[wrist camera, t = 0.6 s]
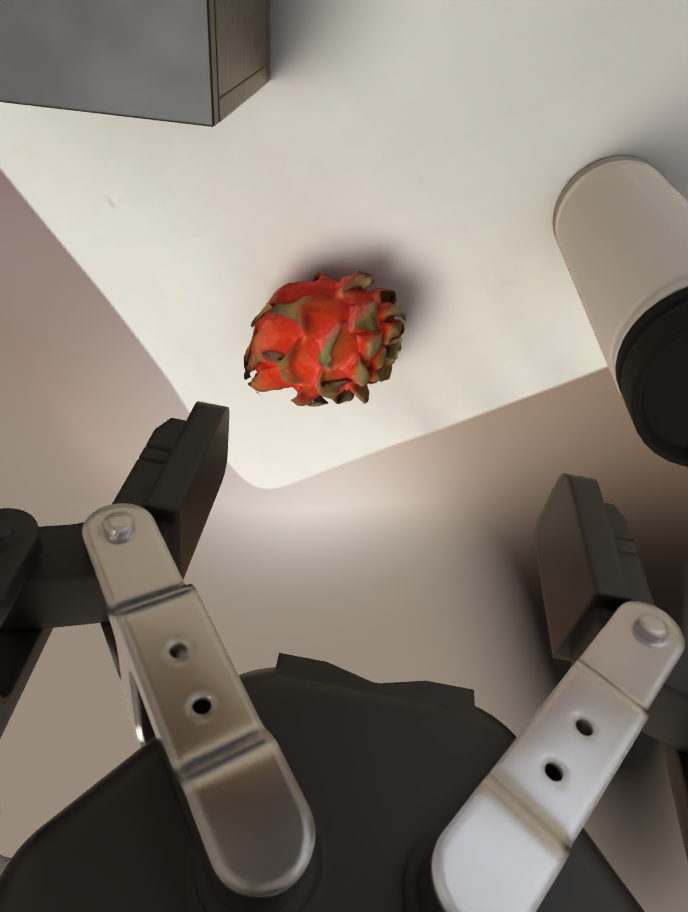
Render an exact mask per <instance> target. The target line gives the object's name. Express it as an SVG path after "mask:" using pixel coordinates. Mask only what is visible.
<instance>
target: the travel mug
mask: <svg viewBox="0 0 688 912" xmlns="http://www.w3.org/2000/svg"><path fill="white" fill-rule="evenodd" d="M553 229H554V235H555V238H556V240H557V243H558V246H559V248H560V250H561V253H562V255H563V258H564V260H565V263H566V265H567V267H568V270H569V272H570V275H571V277H572V280H573V282H574V284H575V287H576V289H577V292H578V294H579V297H580V299H581V301H582V304H583V306H584V309H585V311H586V314H587V316H588V319H589V321H590V323H591V326H592V328H593V331H594V333H595V336H596V338H597V340H598V343H599V345H600V348H601V350H602V353H603V355H604V357H605V360H606V362H607V365H608V367H609V370H610V372H611V374H612V377H613V379H614V381H615V384H616V387H617V389H618V391H619V393H620V394H621V396H622V397H623V399H624V401H625V404H626V407H627V409H628V412H629V414H630V416H631V419H632V421H633V424H634V426H635V428H636V431H637V433H638V434H639V436H640V437H641V439H642V440H643V442H644V443H645V444H646V445H647V446H648V447H649V448H650V449H651V450H652V451H653V452H654V453H656V454H657V455H659V456H661V457H662V458H664V459H666V460H668V461H670V462H673V463H676V464H679V465H683V466H687V467H688V201H687V200H686V199H685V198H684V197H683V196H682V195H681V194H680V193H679V192H678V191H677V190H676V189H675V188H674V187H673V186H672V185H671V184H670V183H669V182H668V181H667V180H666V179H665V178H664V177H663V176H662V175H661V174H660V173H659V172H658V171H657V170H656V169H655V168H654V167H653V166H652V165H650V164H649V163H648V162H646V161H644V160H642V159H639V158H636V157H631V156H612V157H608V158H605V159H601V160H598V161H596V162H594V163H592V164H590V165H588V166H587V167H585V168H584V169H582V170H581V171H580V172H578V173H577V174H576V175H575V176H574V177H573V178H572V179H571V180H570V181H569V182H568V184H567V185H566V186H565V188H564V189H563V191H562V192H561V194H560V196H559V198H558V200H557V203H556V206H555V210H554V215H553Z"/></svg>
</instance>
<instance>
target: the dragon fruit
mask: <svg viewBox="0 0 688 912" xmlns="http://www.w3.org/2000/svg"><path fill="white" fill-rule="evenodd" d="M373 283H374V279H373V276H372V275H371V274H367V273H362V272H361V271H358V272H356V273H353V274H351V275H350V276H346V277H343V278H342V279H341V282H338V281H336V280H333V279H330V278H328V277H326V275H325V274H322V273H321V272H318V273H316V274H315V275H314V279H313V281H312V282H294V283H288V284H286V285H284V286H283V287H281V288H280V289H278V290H277V291H276V292H275V293H274V295H273V297H272V298H271V299H270V300H269V302H268V303H267V304H266V306H265V307H264V308H263V309H262V311H261V312H260V313H259V315H257V316H256V317H255V319H254V320H253V321H252V324H251V326H252V327H253V326H255V328H254V332H253V336H252V340H251V342H250V345H249V347H248V348H247V350H246V353H245V356H244V368H245V373H244V379H245V380H247V379H248V378H250V377H251V376H250V372H252V371H254V370H255V369H256V371H257V373H256V374H255V377H254V378H253V379H252V381H251V382H249V383H248V385H249V386H251V387H252V388H253V389H254V390H256V391H259V392H266V391H270V390H280V389H283V388H289V387H293V388H294V389H295V390H296V391H297V392H298V394H297V396H296V397H295V398H294V399H292V400H291V401H292V402H294V403H295V404H296V405H297V406H305V405H308V406H321V405H324V404H328V402H327V401H326V400H325V399H324V398H323V397H322V396H324V397H326V398H330V399H332V400H333V401H335V403H337V404H340V403H343V402H346V401H351V400H352V399H353V398H354V394H355V395H356V396H357V397H358V398H359V399H360V400H361V401H362V402H363V403H364V404H365V403H367V402H368V400H369V390H368V387H367V384H373V383H376V382H378V381H381V382H382V381H384V380H388V379H389V378H390V375H391V371H392V364H393V363H394V362H395V360H396V358H397V359H398V357H397V356H398V352H399V351H400V350H401V342H402V338H401V335H402V334H403V332H404V324H403V322H402V321H401V320H397V319H394V317H395V316H400V317H402V318H403V319H404V320H405V321H406V319H405V316H406V315H405V314H404V313H403V312H402V311H401V309H400V308H399V307H398V306H396V293H395V292H394V291H392V290H388V289H383V288H378V289H374V290H372V291H370V292H368V291H367V290H366V288H367V287H368V286H370V285H371V284H373ZM404 315H405V316H404ZM346 389H347V391H346ZM254 392H255V391H254ZM256 393H258V392H256ZM321 395H322V396H321ZM259 396H260V395H259ZM260 397H261V396H260ZM312 401H314V402H312Z"/></svg>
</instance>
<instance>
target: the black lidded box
mask: <svg viewBox="0 0 688 912" xmlns="http://www.w3.org/2000/svg"><path fill="white" fill-rule="evenodd" d="M214 17H215V42H216V66H217V91H218V116H219V122H220V121H222V120H223V119H224V118H225V117H227V116H228V115H229V114H230V113H231V112H233V111H234V110H235V109H236V108H237V107H239V106H240V105H241V104H242V103H244V102H245V101H246V100H247V99H248V98H250V97H251V96H252V95H253V94H255V93H256V92H257V91H258V90H259V89H261V88H262V87H263V86H264V85H265V84H266V83H268V82H269V80H270V0H214Z"/></svg>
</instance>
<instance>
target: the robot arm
mask: <svg viewBox="0 0 688 912" xmlns="http://www.w3.org/2000/svg"><path fill="white" fill-rule="evenodd" d="M228 433H229V408H228V407H225V406H220V405H215V404H210V403H204V402H199V401H197V402H196V403H195V405H194V407H193V409H192V411H191V413H190V415H189V417H188V419H187V421H185V420H180V419H175V418H170V419H169V420H167V421H166V422H165V423H163V424H162V425H160V426H159V427H158V428H156V429H155V430H154V432H153V434H152V436H151V437H150V439H149V441H148V443H147V444H146V447H145V448H144V449H143V451H142V453H141V455H140V456H139V460H137V462H136V463H135V465H134V467H133V469H132V470H131V472H130V474H129V476H128V477H127V479H126V481H125V482H124V484H123V486H122V488H121V490H120V491H119V493H118V495H117V496H116V498H115V500H114V502H113V503H112V505H108V506H105V507H102V508H100V509H98V510H97V511H95V512H94V513H92V514H91V515H90V516H89V517H88V518H87V520H86V521H85V522H83V523H78V524H72V525H59V526H44V527H38V524H37V522H36V520H35V519H34V517H33V516H31V515H30V514H29V513H27V512H25V511H22V510H18V509H10V508H2V509H0V738H1V736H2V734H3V732H4V730H5V728H6V726H7V723H8V721H9V719H10V717H11V715H12V713H13V711H14V709H15V707H16V705H17V703H18V700H19V698H20V696H21V694H22V692H23V690H24V688H25V686H26V683H27V682H28V680H29V677H30V675H31V673H32V671H33V669H34V667H35V665H36V663H37V661H38V659H39V657H40V654H41V652H42V650H43V648H44V646H45V644H46V642H47V640H48V637H49V636H50V634H51V631H52V629H53V628H54V627H64V626H73V625H82V624H92V623H98V625H99V628H100V631H101V634H102V636H103V639H104V642H105V645H106V648H107V651H108V654H109V657H110V660H111V662H112V666H113V668H114V671H115V674H116V677H117V680H118V683H119V686H120V689H121V692H122V696H123V699H124V703H125V707H126V712H127V715H128V718H129V722H130V725H131V729H132V731H133V734H134V738H135V740H136V744H137V746H138V749H139V750H137V751H136V752H135V753H134V754H132V755H131V756H130V757H129V758H127V759H126V760H125V761H124V762H122V763H121V764H120V765H119V766H117V767H116V768H115V769H114V770H112V771H111V772H110V773H108V774H107V775H106V776H105V777H104V778H102V779H101V780H100V781H98V782H97V783H96V784H95V785H93V786H92V787H91V788H90V789H88V790H87V791H86V792H85V793H83V794H82V795H81V796H79V797H78V798H77V799H76V800H74V801H73V802H72V803H71V804H69V805H68V806H67V807H66V808H64V809H63V810H62V811H61V812H59V813H58V814H57V815H56V816H54V817H53V818H52V819H50V820H49V821H48V822H47V823H46V824H44V825H43V826H42V827H40V828H39V829H38V830H37V831H36V832H35V833H34V834H32V835H31V836H30V837H29V838H28V839H27V840H26V841H25V843H24V844H23V845H22V846H21V847H20V848H19V849H18V851H17V852H16V853H15V854H14V856H13V857H12V858H8V857H4V856H2V855H0V912H644V910H643V909H642V907H641V906H640V905H639V903H638V902H637V900H636V899H635V898H634V896H633V895H632V894H631V892H630V891H629V889H628V888H627V887H626V885H625V884H624V883H623V881H622V880H621V878H620V877H619V876H618V874H617V873H616V872H615V870H614V869H613V868H612V866H611V865H610V863H609V862H608V861H607V859H606V858H605V857H604V855H603V854H602V852H601V851H600V850H599V848H598V847H597V846H596V844H595V843H594V841H593V840H592V839H591V837H590V836H589V835H588V833H587V832H586V831H585V829H584V828H583V826H584V824H585V823H586V821H587V819H588V817H589V816H590V814H591V813H592V811H593V809H594V808H595V806H596V804H597V803H598V801H599V799H600V797H601V796H602V794H603V793H604V791H605V789H606V788H607V786H608V784H609V783H610V781H611V779H612V778H613V776H614V774H615V772H616V771H617V769H618V768H619V766H620V764H621V763H622V761H623V759H624V758H625V756H626V754H627V753H628V751H629V749H630V748H631V746H632V744H633V742H634V741H635V739H636V738H637V736H638V734H639V733H640V731H641V732H643V733H645V734H647V735H649V736H651V737H653V738H655V739H657V740H659V741H661V742H662V747H663V751H664V756H665V760H666V765H667V769H668V774H669V778H670V783H671V788H672V792H673V796H674V801H675V805H676V810H677V815H678V819H679V824H680V828H681V833H682V837H683V842H684V847H685V851H686V855H687V860H688V643H687V642H686V641H685V640H684V637H683V634H682V632H681V630H680V628H679V627H678V625H677V624H676V623H675V621H674V620H673V619H672V618H671V617H670V616H668V615H667V614H666V613H665V612H663V611H662V610H660V609H659V608H657V607H655V605H654V602H653V599H652V596H651V593H650V590H649V587H648V584H647V580H646V577H645V575H644V571H643V568H642V565H641V562H640V559H639V557H637V554H638V553H637V550H636V547H635V544H634V543H633V538H632V534H631V532H630V528H629V525H628V522H627V521H626V519H625V518H624V517H623V516H622V514H621V513H620V512H619V511H618V509H617V508H616V507H615V506H614V505H613V504H609V503H604V501H603V498H602V495H601V491H600V488H599V484H598V482H597V481H596V480H595V479H591V478H586V477H581V476H575V475H570V474H566V473H564V474H562V475H561V476H560V477H559V478H558V480H557V482H556V484H555V486H554V488H553V490H552V492H551V494H550V496H549V498H548V500H547V502H546V504H545V506H544V508H543V510H542V512H541V514H540V516H539V518H538V521H537V524H536V528H535V538H534V539H535V548H536V554H537V560H538V567H539V573H540V579H541V585H542V592H543V597H544V603H545V610H546V616H547V623H548V629H549V634H550V641H551V647H552V654H553V658H557V659H562V660H567V661H571V662H572V667H571V668H570V670H569V671H568V672H567V674H566V675H565V676H564V677H563V679H562V680H561V682H560V683H559V684H558V685H557V687H556V688H555V689H554V690H553V692H552V693H551V694H550V696H549V697H548V698H547V700H546V701H545V702H544V703H543V705H542V706H541V707H540V708H539V710H538V711H537V712H536V714H535V715H534V716H533V717H532V719H531V720H530V721H529V723H528V724H527V725H526V726H525V728H524V729H523V730H522V732H521V733H520V734H519V735H518V737H516V736H515V735H514V734H513V733H512V732H511V731H510V730H509V729H508V728H507V727H506V726H505V725H503V723H501V722H500V721H499V720H497V719H496V718H495V717H493V716H492V715H490V714H489V713H487V712H485V711H484V710H482V709H480V708H478V707H476V706H475V705H474V690H472V689H467V688H461V687H456V686H451V685H445V684H441V683H435V682H430V681H413V682H396V683H374V682H371V681H369V680H366V679H364V678H362V677H359V676H357V675H355V674H353V673H350V672H348V671H346V670H344V669H341V668H339V667H337V666H335V665H333V664H330V663H328V662H325V661H319V660H314V659H309V658H303V657H298V656H293V655H287V654H282V653H279V656H278V660H277V665H276V667H274V668H264V669H258V670H254V671H250V672H247V673H244V674H241V675H238V673H237V671H236V670H235V667H234V665H233V663H232V661H231V659H230V657H229V655H228V653H227V651H226V649H225V647H224V644H223V643H222V641H221V638H220V636H219V634H218V632H217V630H216V628H215V626H214V624H213V622H212V620H211V618H210V616H209V614H208V612H207V610H206V608H205V605H204V603H203V601H202V599H201V597H200V595H199V593H198V591H197V590H196V588H195V587H194V586H193V585H192V584H188V585H186V584H185V583H184V581H183V579H184V577H185V574H186V571H187V569H188V566H189V564H190V561H191V559H192V556H193V554H194V551H195V549H196V546H197V543H198V541H199V538H200V536H201V533H202V531H203V528H204V526H205V523H206V521H207V518H208V516H209V513H210V511H211V508H212V506H213V503H214V501H215V498H216V496H217V493H218V491H219V487H220V485H221V483H222V480H223V477H224V473H225V469H226V464H227V455H228Z"/></svg>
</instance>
